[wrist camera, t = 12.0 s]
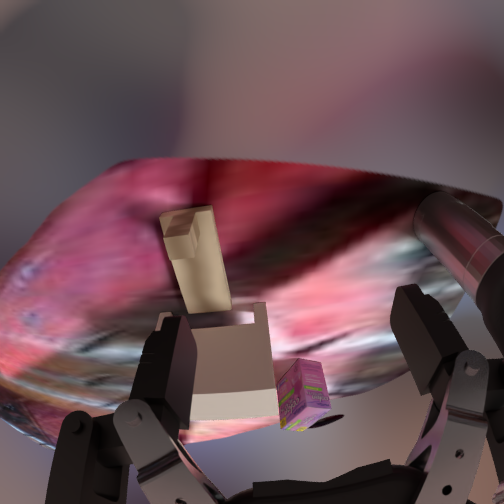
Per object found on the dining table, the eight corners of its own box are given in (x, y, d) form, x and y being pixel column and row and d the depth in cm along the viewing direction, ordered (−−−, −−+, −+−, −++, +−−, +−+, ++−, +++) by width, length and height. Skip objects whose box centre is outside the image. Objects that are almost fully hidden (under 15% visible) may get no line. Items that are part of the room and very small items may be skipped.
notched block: (265, 302, 47) (275, 388, 33) (269, 334, 51) (278, 415, 37) (155, 312, 48) (134, 393, 34) (169, 343, 52) (155, 419, 38)
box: (297, 357, 56) (307, 407, 46) (321, 361, 57) (333, 409, 47) (275, 384, 60) (280, 430, 50) (297, 387, 62) (304, 431, 52)
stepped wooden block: (212, 204, 39) (206, 232, 32) (231, 301, 47) (231, 337, 41) (162, 211, 39) (146, 240, 32) (190, 305, 48) (183, 341, 41)
